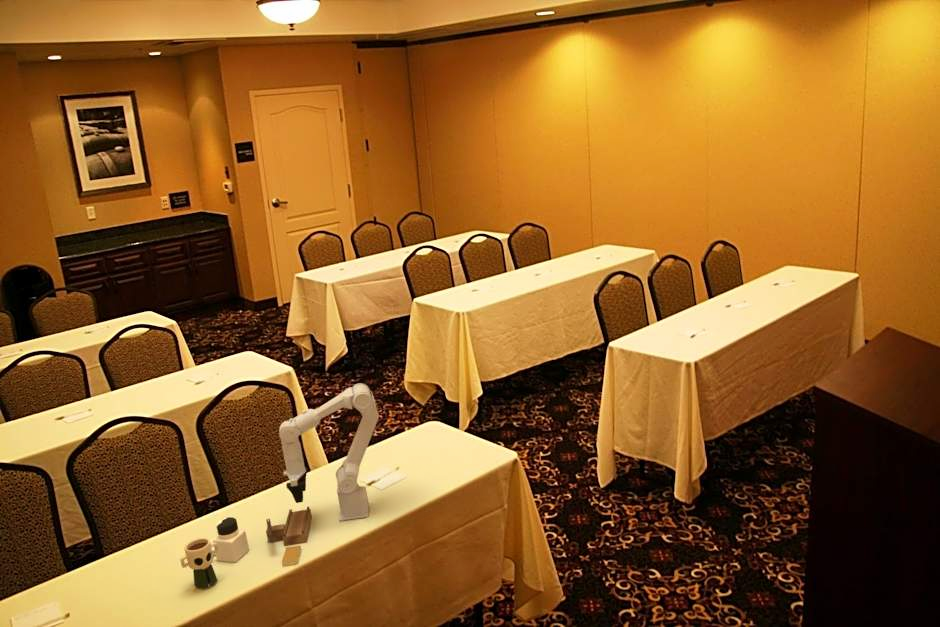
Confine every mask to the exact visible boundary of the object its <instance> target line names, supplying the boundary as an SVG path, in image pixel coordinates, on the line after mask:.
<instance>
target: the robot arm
mask: <svg viewBox="0 0 940 627" xmlns="http://www.w3.org/2000/svg"><path fill="white" fill-rule="evenodd" d="M353 407H354V409H355V410H357V411H358V412H360V413H359V414H360V415H361V416H362V417H361V419H360V421H359V422H360V423H359V425H358V427H357V430H356V433H355V436H354V437H353V440H352V443H351V445H350V448H349V450H348V453H347V455H346V458H345V459H344V460H343V461H342V464H341V465H340V466H339V467H338V468H337V470H336V471H335V478H336V481H337V488H336V493H337V499H338V503H339V508H340V509H339V510H340V512H339V519H338V520H339V522H341V521H342V522H343V521H349V520H357V519H361V518H368V517H369V516H370V515H369V514H370V503H369V497H368V491H367V487H366V486H362V485H361V486H360V485H359V483H358V477H359V473H360V466H361V464H362V461H363V458H364V455H365V453H366V451H367V448H368V447H369V443H370V440H371V439H372V436H373V433H374V430H375V428H376V425H377V423H378V421H379V417H380V415H379V412H378V407H377V404H376V400H375V397H374V394H373V392H372V390H371V389H370V387H369V386H368V385H367V384H365V383H361V382H359V383H356V384H354V385H353V386H352V387H351V386H350V387H348V388H346V389H344V390H343V391H342V392H341V393H339V394H338V395H336V396H335V397H333V398H332V399H330V400H328V401H327V402H326V403H324V404H322V405H321V406H319V407H318V408H316V409H313V408H309V409H307V408H306V409H303V410H302V413H299V414H298V415H297V416H295V417H293V418H292V417H291V418H289V420H285V421H283V422H282V423H280V426H279V429H278V436H279V437H278V438H280V440H281V445H282V446H281V449H282V454H283V459H284V464H285V468H286V470H284V471H283V476H287V477H288V480H289V482H287V483H286V485H285V486H286V488H287V490H288V491H289V492H290V493H291V495H292V497H293V499H294V502H295V503H296V504H299V503H303V502H304V492H306V489H307V474H308V470H309V468H308V467H307V466H306V467H305V462H304V461H305V460H304V455H303V451H302V446H301V445H302V444H301V442H300V440H299V436H301V435H303V434H305V433H306V432H308V431H311V429H313V428H315V427H317V426H319V425H320V422H321V419H323V418H325V417H327V416H329V415H331V414H333V413H334V412H337V411H339V410H340V409H342V408H344V409H349V410H353Z"/></svg>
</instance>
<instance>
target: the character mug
mask: <svg viewBox="0 0 940 627" xmlns="http://www.w3.org/2000/svg"><path fill="white" fill-rule="evenodd" d="M213 548H214V550H213ZM217 552H218V546H217V543H216V542H214V543H213V542H211V540H210V538H206V537H201V538H196V539H193V540H190V541H188V542H187V543H186V545H185V546H184V553H185V555H184V556H181V557H180V559H179V560H180V565H181V567H182V568H183V569H184V568H187V567H188V568H189V569H191V570H193V583H194V586H195V588H197V589H199V590H200V589H203V590H204V589H209V587H210V586H209V585H210V584H211V586H213V585H215V583H217V581H218V578H217V575H216V572H215V570H214V567H213V564H212V563H213V562H214V559H215V557H214V555H216V553H217ZM185 560H186V561H187V562H185Z"/></svg>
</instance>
